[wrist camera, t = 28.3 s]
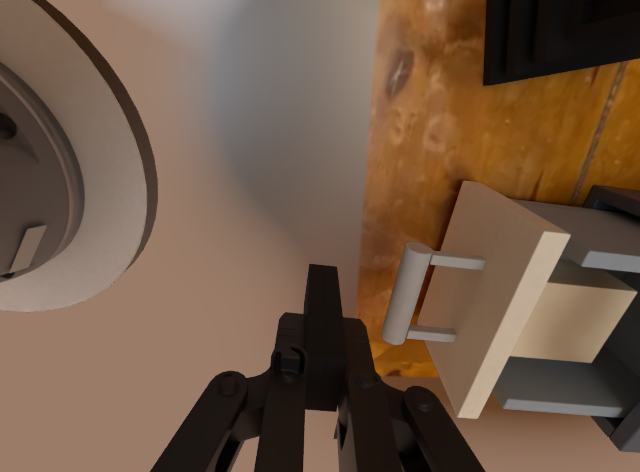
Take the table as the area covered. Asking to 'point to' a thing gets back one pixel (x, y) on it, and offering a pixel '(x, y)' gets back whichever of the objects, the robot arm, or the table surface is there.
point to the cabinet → (636, 427)
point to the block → (574, 314)
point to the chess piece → (557, 36)
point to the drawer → (517, 304)
